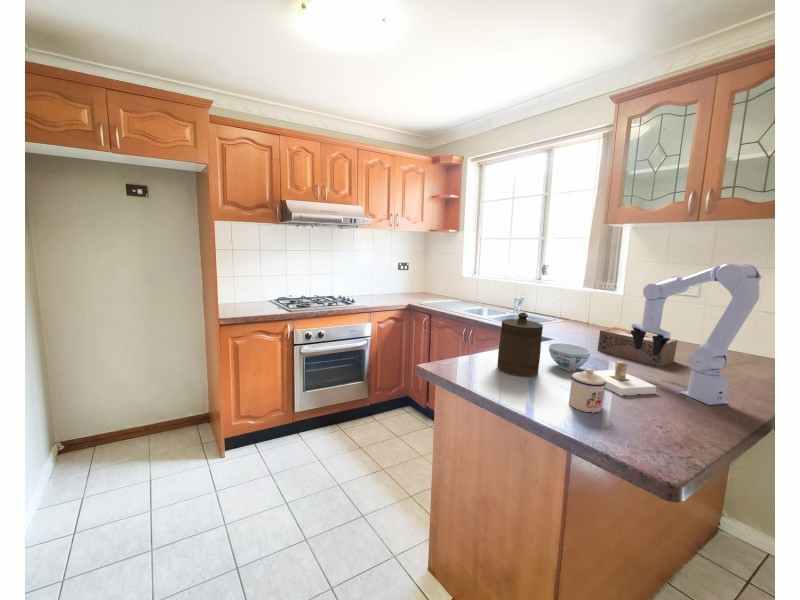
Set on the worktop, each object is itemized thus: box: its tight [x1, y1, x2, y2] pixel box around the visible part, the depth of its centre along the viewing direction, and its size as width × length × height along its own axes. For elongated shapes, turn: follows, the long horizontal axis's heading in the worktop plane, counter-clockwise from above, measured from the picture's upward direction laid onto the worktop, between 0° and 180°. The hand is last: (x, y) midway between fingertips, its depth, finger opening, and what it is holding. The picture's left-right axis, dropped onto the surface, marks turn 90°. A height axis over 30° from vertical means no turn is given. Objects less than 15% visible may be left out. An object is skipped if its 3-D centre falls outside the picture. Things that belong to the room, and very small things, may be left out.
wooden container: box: [497, 312, 544, 377], centre depth 139 cm, size 15×15×22 cm
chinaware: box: [548, 342, 592, 371], centre depth 146 cm, size 15×15×8 cm
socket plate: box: [593, 369, 657, 397], centre depth 129 cm, size 16×14×2 cm
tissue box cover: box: [597, 326, 678, 368], centre depth 167 cm, size 26×14×10 cm, turn 36°
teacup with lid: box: [568, 367, 606, 414], centre depth 110 cm, size 12×9×12 cm
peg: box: [614, 360, 628, 381], centre depth 129 cm, size 3×3×8 cm
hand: (646, 351), depth 139 cm, fingers open, 7 cm apart
